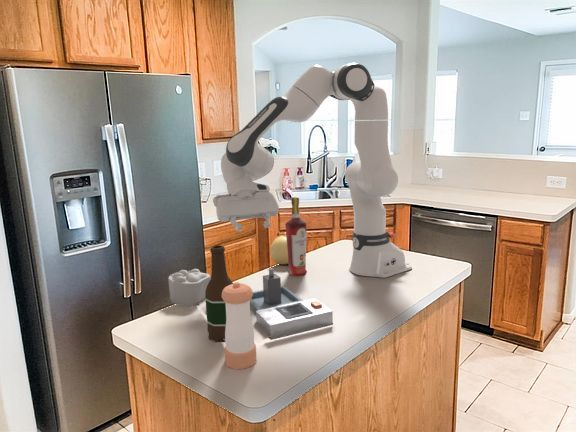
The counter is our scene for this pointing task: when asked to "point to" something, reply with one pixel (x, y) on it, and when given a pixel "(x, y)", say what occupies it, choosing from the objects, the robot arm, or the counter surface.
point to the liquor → (296, 241)
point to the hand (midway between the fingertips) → (253, 228)
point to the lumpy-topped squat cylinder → (188, 287)
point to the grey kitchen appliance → (294, 318)
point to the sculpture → (279, 250)
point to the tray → (286, 298)
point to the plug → (272, 288)
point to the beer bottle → (217, 295)
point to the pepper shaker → (239, 327)
